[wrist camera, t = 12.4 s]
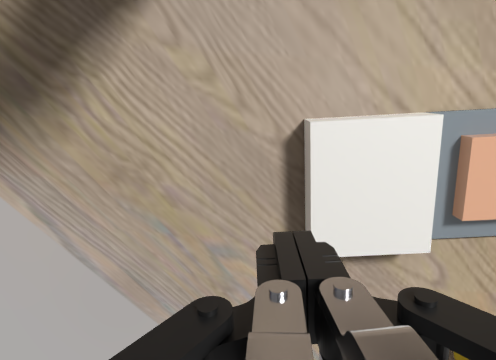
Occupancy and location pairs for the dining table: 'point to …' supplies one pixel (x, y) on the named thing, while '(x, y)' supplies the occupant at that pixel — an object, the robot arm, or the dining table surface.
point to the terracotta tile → (476, 178)
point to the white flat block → (372, 182)
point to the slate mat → (447, 172)
